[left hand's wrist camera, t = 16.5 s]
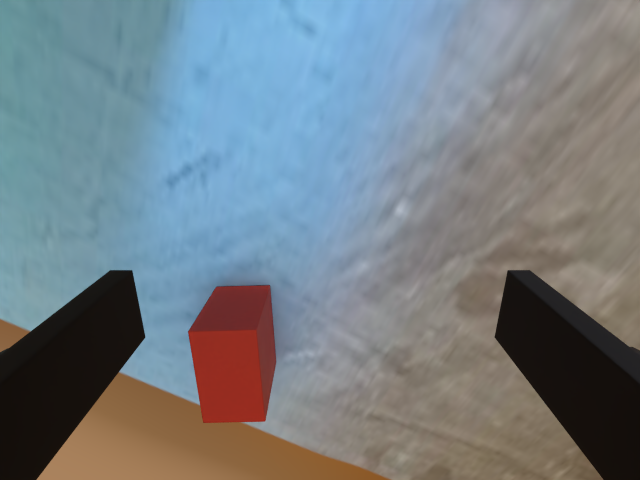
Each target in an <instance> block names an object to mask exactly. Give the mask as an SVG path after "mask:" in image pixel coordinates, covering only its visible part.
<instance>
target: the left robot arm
mask: <svg viewBox="0 0 640 480" xmlns="http://www.w3.org/2000/svg"><path fill="white" fill-rule="evenodd" d="M144 338H145V333H144V328H143V323H142V318H141V313H140V308H139V302H138V297H137V292H136V287H135V282H134V277H133V272H132V270H110V271H109V272H108V273H106V274H105V275H104V276H102V277H101V278H100V279H98V280H97V281H96V282H95V283H93V284H92V285H91V286H89V287H88V288H87V289H85V290H84V291H83V292H82V293H80V294H79V295H78V296H76V297H75V298H74V299H72V300H71V301H70V302H69V303H67V304H66V305H65V306H63V307H62V308H61V309H59V310H58V311H57V312H56V313H54V314H53V315H52V316H50V317H49V318H48V319H46V320H45V321H44V322H43V323H41V324H40V325H39V326H37V327H36V328H35V329H33V330H32V331H31V332H30V333H28V334H27V335H26V336H24V337H23V338H22V339H21V340H19V341H18V342H17V343H15V344H14V345H13V346H11V347H10V348H8V349H6V350H4V351H2V352H0V480H36V479H37V478H38V477H39V475H40V474H41V473H42V472H43V470H44V469H45V468H46V466H47V465H48V464H49V462H50V461H51V460H52V459H53V457H54V456H55V454H56V453H57V452H58V451H59V449H60V448H61V447H62V445H63V444H64V443H65V442H66V440H67V439H68V438H69V436H70V435H71V434H72V432H73V431H74V430H75V428H76V427H77V426H78V425H79V423H80V422H81V421H82V419H83V418H84V417H85V415H86V414H87V413H88V411H89V410H90V409H91V408H92V406H93V405H94V404H95V402H96V401H97V400H98V398H99V397H100V396H101V394H102V393H103V392H104V391H105V389H106V388H107V387H108V385H109V384H110V383H111V381H112V380H113V379H114V377H115V376H116V375H117V374H118V372H119V371H120V370H121V368H122V367H123V366H124V364H125V363H126V362H127V361H128V359H129V358H130V357H131V355H132V354H133V353H134V351H135V350H136V349H137V347H138V346H139V345H140V344H141V342H142V341H143V340H144ZM495 338H496V340H497V341H498V342H499V344H500V345H501V346H502V347H503V349H504V350H505V351H506V353H507V354H508V355H509V357H510V358H511V359H512V361H513V362H514V363H515V364H516V366H517V367H518V368H519V370H520V371H521V372H522V374H523V375H524V376H525V377H526V379H527V380H528V381H529V383H530V384H531V385H532V387H533V388H534V389H535V391H536V392H537V393H538V394H539V396H540V397H541V398H542V400H543V401H544V402H545V404H546V405H547V406H548V408H549V409H550V410H551V411H552V413H553V414H554V415H555V417H556V418H557V419H558V421H559V422H560V423H561V425H562V426H563V427H564V428H565V430H566V431H567V432H568V434H569V435H570V436H571V438H572V439H573V440H574V442H575V443H576V444H577V445H578V447H579V448H580V449H581V451H582V452H583V453H584V455H585V456H586V457H587V459H588V460H589V461H590V462H591V464H592V465H593V466H594V468H595V469H596V470H597V472H598V473H599V474H600V475H601V477H602V478H603V479H604V480H640V351H639V350H637V349H635V348H633V347H629V346H627V345H626V344H625V343H623V342H622V341H621V340H619V339H618V338H617V337H616V336H614V335H613V334H612V333H610V332H609V331H608V330H607V329H605V328H604V327H603V326H601V325H600V324H599V323H597V322H596V321H595V320H594V319H592V318H591V317H590V316H588V315H587V314H586V313H584V312H583V311H582V310H581V309H579V308H578V307H577V306H575V305H574V304H573V303H571V302H570V301H569V300H568V299H566V298H565V297H564V296H562V295H561V294H560V293H558V292H557V291H556V290H555V289H553V288H552V287H551V286H549V285H548V284H547V283H545V282H544V281H543V280H542V279H540V278H539V277H538V276H536V275H535V274H534V273H532V272H531V271H530V270H508V272H507V277H506V282H505V287H504V292H503V297H502V302H501V308H500V313H499V318H498V323H497V328H496V333H495Z"/></svg>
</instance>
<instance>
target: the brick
mask: <svg viewBox="0 0 640 480" xmlns="http://www.w3.org/2000/svg"><path fill="white" fill-rule="evenodd" d="M188 334H189V340H190V346H191V352H192V358H193V364H194V370H195V376H196V382H197V388H198V394H199V400H200V406H201V412H202V418H203V422H204V423H218V422H263V421H265V420H266V415H267V409H268V404H269V398H270V393H271V387H272V382H273V376H274V371H275V365H276V354H275V341H274V328H273V316H272V303H271V291H270V285H263V286H224V287H216V288H215V290H214V291H213V293H212V294H211V296H210V298H209V299H208V301H207V302H206V304H205V306H204V307H203V309H202V310H201V312H200V314H199V315H198V317H197V318H196V320H195V322H194V323H193V325H192V326H191V328H190V330H189V331H188Z"/></svg>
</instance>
